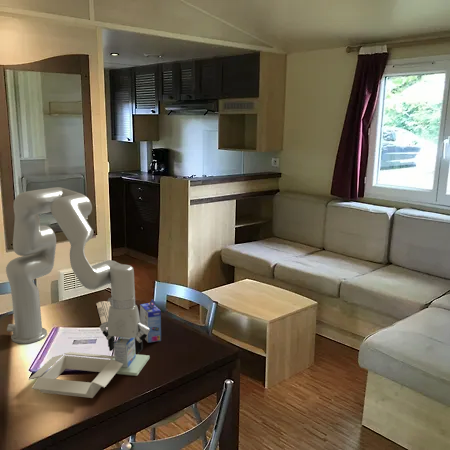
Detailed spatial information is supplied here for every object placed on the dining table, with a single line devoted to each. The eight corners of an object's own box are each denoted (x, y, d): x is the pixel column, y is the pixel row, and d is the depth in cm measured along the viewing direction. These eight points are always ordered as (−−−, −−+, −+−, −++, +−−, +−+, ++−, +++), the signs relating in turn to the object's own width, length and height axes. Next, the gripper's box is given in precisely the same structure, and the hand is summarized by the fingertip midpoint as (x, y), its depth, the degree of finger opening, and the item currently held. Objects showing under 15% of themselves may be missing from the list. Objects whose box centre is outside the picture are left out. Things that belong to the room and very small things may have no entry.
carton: (20, 398, 141) (19, 382, 140) (60, 361, 163) (59, 347, 162) (99, 407, 137) (98, 390, 136) (128, 367, 159) (128, 353, 158)
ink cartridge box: (162, 340, 178) (161, 304, 175) (148, 343, 176) (146, 307, 173) (153, 330, 187) (152, 296, 184) (140, 333, 185) (138, 298, 182)
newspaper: (116, 324, 195) (116, 320, 195) (98, 326, 193) (98, 322, 192) (109, 304, 217) (109, 300, 216) (93, 306, 214) (93, 302, 214)
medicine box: (127, 368, 156) (126, 344, 154) (114, 367, 157) (113, 343, 155) (136, 357, 164) (135, 333, 162) (123, 356, 165) (122, 332, 163)
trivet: (102, 372, 156) (102, 369, 156) (117, 355, 167) (116, 352, 167) (137, 375, 154) (137, 372, 154) (149, 358, 165) (149, 355, 165)
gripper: (93, 304, 154) (96, 353, 157) (144, 308, 151) (146, 358, 154) (103, 296, 161) (106, 343, 165) (152, 300, 158) (154, 347, 162)
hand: (125, 350), depth 159 cm, fingers open, 9 cm apart
